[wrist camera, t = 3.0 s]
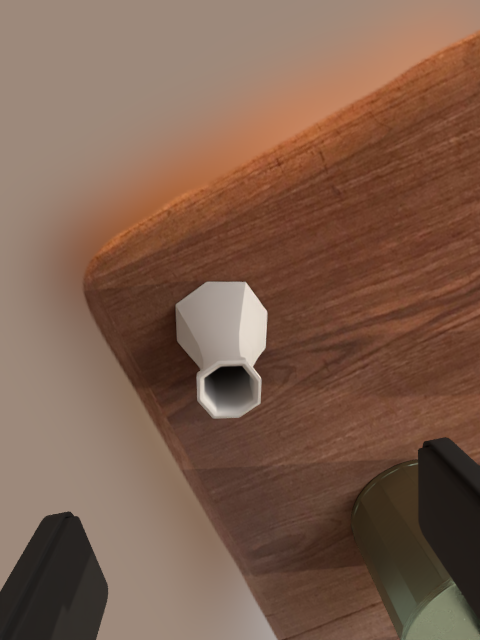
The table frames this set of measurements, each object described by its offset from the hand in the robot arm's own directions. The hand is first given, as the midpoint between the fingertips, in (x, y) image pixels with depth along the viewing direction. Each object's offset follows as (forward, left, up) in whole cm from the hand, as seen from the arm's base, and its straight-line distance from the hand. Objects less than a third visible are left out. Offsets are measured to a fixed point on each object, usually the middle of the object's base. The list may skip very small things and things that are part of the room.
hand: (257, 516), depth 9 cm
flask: (0, 0, -17) cm, 17 cm away
